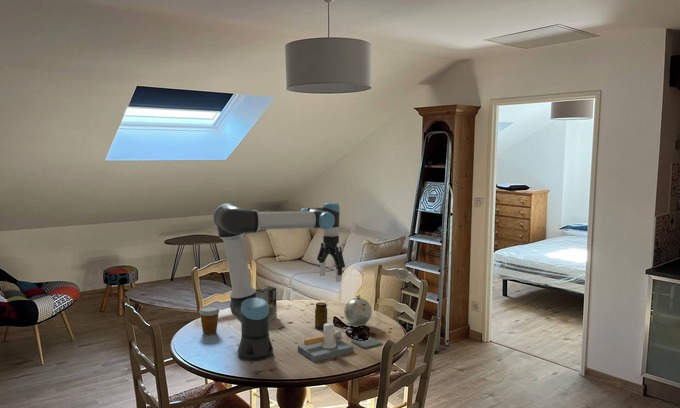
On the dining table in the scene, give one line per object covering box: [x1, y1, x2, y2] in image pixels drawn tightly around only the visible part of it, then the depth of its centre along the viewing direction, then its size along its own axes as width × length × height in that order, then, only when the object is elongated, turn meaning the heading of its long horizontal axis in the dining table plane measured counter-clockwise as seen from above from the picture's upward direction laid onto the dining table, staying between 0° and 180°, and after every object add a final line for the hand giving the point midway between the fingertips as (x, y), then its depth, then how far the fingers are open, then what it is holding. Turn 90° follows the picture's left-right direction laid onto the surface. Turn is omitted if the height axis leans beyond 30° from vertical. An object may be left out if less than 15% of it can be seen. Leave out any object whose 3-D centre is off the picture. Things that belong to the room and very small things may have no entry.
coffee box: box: [256, 285, 278, 321], centre depth 285 cm, size 9×6×16 cm
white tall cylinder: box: [321, 322, 336, 349], centre depth 241 cm, size 7×7×12 cm
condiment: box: [310, 301, 328, 332], centre depth 272 cm, size 7×8×12 cm
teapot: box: [343, 294, 373, 327], centre depth 275 cm, size 18×14×16 cm
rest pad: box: [351, 336, 383, 350], centre depth 252 cm, size 10×10×1 cm
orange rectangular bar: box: [303, 330, 342, 346], centre depth 244 cm, size 18×3×3 cm, turn 124°
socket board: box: [297, 338, 354, 363], centre depth 242 cm, size 20×14×4 cm
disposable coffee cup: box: [198, 305, 220, 336], centre depth 264 cm, size 10×10×12 cm
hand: (330, 278), depth 266 cm, fingers open, 13 cm apart
